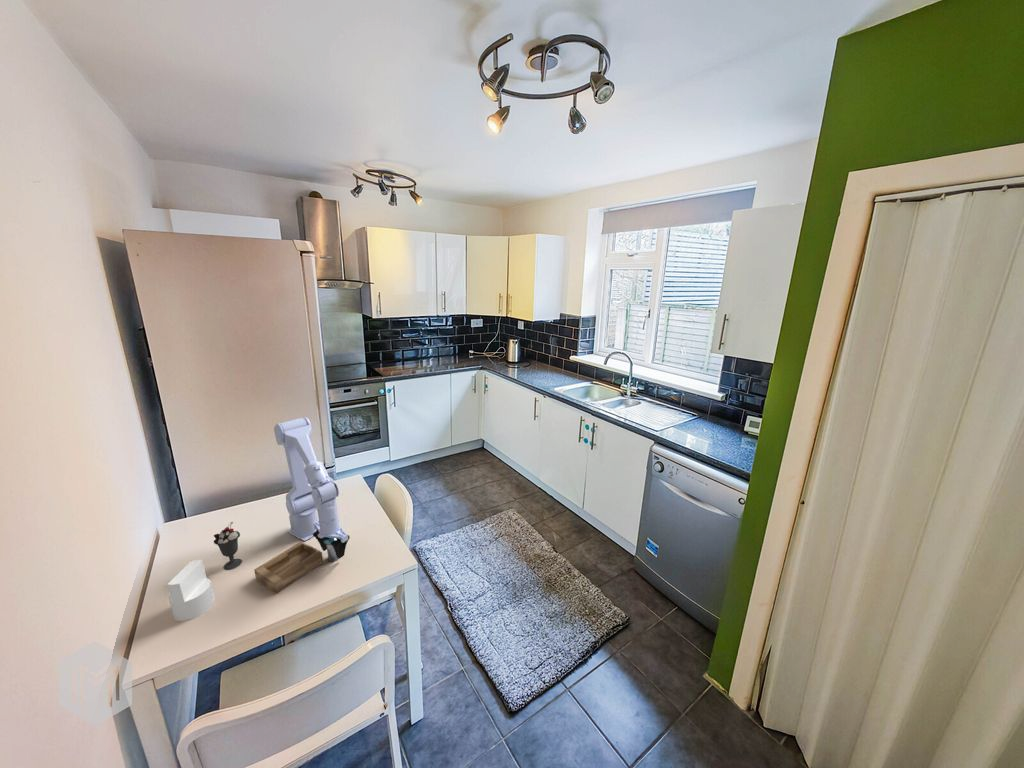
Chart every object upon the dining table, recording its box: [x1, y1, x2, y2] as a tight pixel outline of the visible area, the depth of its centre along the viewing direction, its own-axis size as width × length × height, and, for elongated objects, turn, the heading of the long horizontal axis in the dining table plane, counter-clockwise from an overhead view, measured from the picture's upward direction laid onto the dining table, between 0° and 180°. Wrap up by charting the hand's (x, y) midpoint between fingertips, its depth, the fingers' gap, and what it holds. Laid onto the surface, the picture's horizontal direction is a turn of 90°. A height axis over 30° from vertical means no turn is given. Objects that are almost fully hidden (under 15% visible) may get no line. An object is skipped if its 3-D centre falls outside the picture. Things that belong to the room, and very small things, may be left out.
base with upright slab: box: [167, 559, 216, 622], centre depth 104 cm, size 9×9×12 cm
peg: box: [324, 537, 339, 563], centre depth 124 cm, size 5×5×8 cm
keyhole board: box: [253, 540, 324, 594], centre depth 119 cm, size 11×15×4 cm
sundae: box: [213, 521, 243, 571], centre depth 120 cm, size 7×7×15 cm
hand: (333, 552), depth 124 cm, fingers open, 7 cm apart
